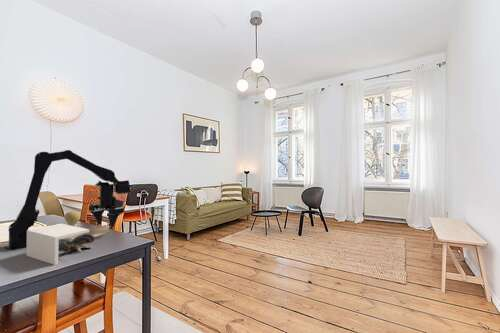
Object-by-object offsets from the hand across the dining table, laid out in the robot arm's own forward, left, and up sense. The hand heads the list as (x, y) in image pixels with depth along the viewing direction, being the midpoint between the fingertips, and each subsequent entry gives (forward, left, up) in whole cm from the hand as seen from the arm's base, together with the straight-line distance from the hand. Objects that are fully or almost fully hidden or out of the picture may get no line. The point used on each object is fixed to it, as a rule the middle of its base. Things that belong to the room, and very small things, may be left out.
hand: (106, 225), depth 121 cm
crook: (+4, -9, -4) cm, 11 cm away
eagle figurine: (+13, -21, -4) cm, 25 cm away
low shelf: (+11, -27, -4) cm, 29 cm away
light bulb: (-18, -5, -4) cm, 20 cm away
